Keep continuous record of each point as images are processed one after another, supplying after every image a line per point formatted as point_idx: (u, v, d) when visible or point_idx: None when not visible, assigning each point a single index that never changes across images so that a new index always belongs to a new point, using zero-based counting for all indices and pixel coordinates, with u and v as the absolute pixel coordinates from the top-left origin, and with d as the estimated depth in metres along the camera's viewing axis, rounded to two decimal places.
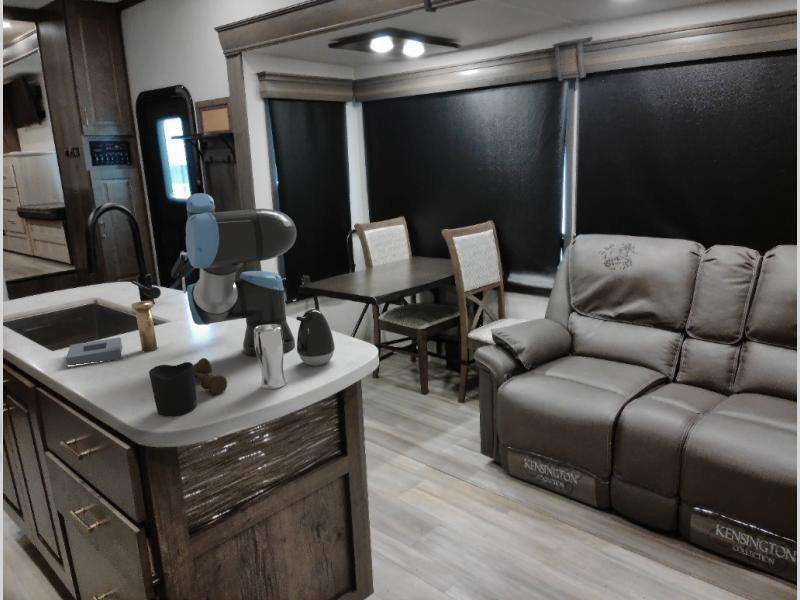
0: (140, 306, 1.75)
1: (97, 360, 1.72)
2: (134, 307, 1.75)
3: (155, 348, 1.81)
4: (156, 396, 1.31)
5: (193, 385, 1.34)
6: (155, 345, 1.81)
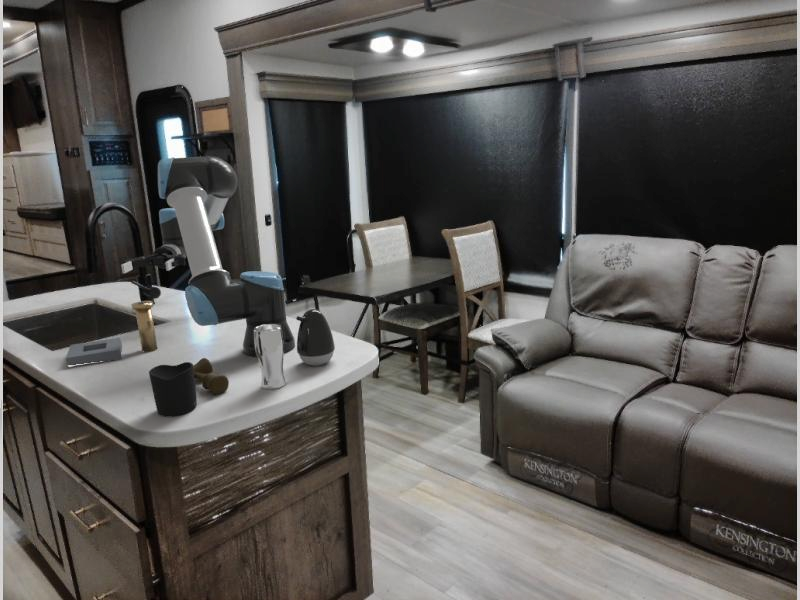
0: (140, 306, 1.75)
1: (97, 360, 1.72)
2: (134, 307, 1.75)
3: (155, 348, 1.81)
4: (156, 396, 1.31)
5: (193, 385, 1.34)
6: (155, 345, 1.81)
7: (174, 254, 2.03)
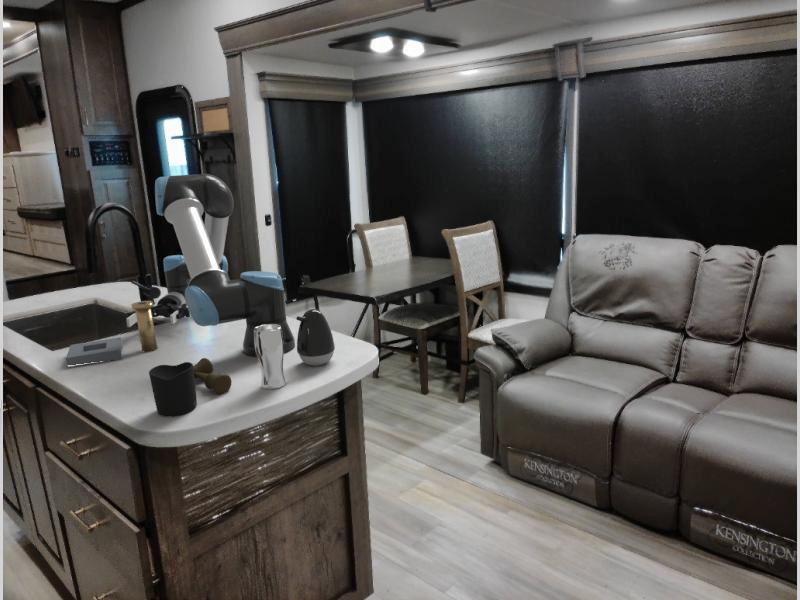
0: (140, 306, 1.75)
1: (97, 360, 1.72)
2: (134, 307, 1.75)
3: (155, 348, 1.81)
4: (156, 396, 1.31)
5: (193, 385, 1.34)
6: (155, 345, 1.81)
7: (178, 303, 2.04)
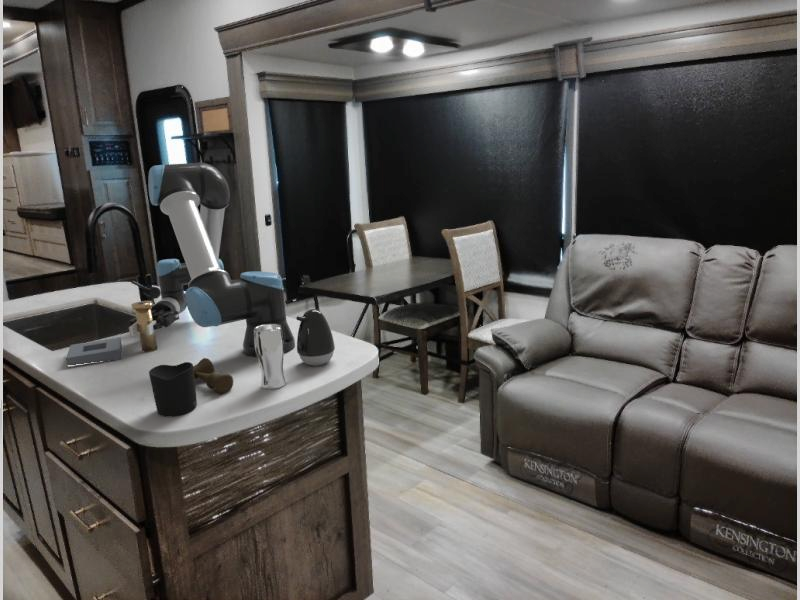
0: (140, 306, 1.75)
1: (97, 360, 1.72)
2: (134, 307, 1.75)
3: (155, 348, 1.81)
4: (156, 396, 1.31)
5: (193, 385, 1.34)
6: (155, 345, 1.81)
7: (173, 310, 1.94)
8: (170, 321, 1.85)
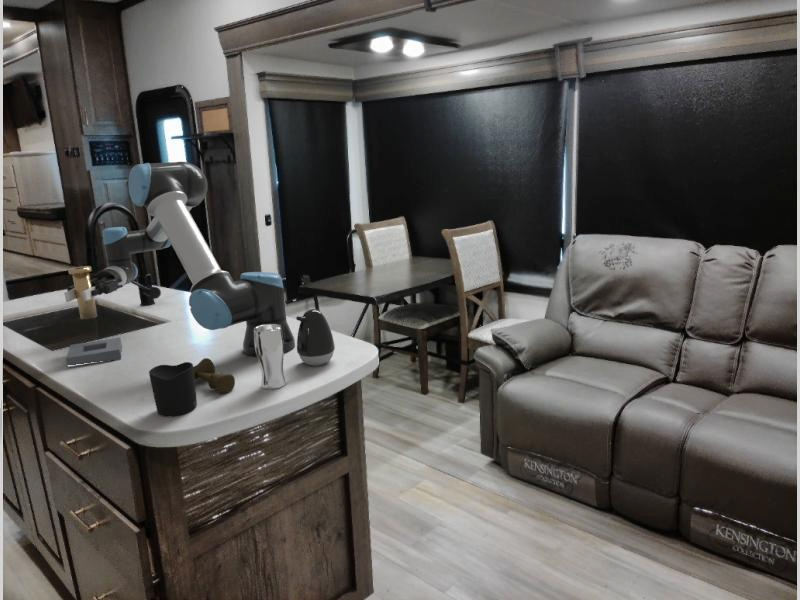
0: (77, 270, 1.68)
1: (97, 360, 1.72)
2: (70, 272, 1.69)
3: (94, 315, 1.74)
4: (156, 396, 1.31)
5: (193, 385, 1.34)
6: (94, 312, 1.74)
7: (117, 278, 1.88)
8: (111, 288, 1.78)
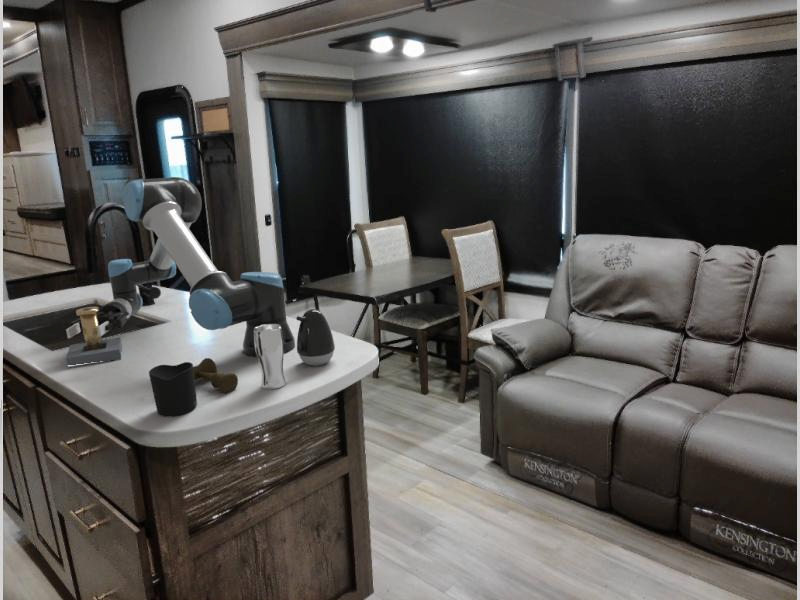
0: (84, 312, 1.71)
1: (97, 360, 1.72)
2: (78, 313, 1.72)
3: None
4: (156, 396, 1.31)
5: (193, 385, 1.34)
6: None
7: (122, 311, 1.90)
8: (123, 322, 1.81)
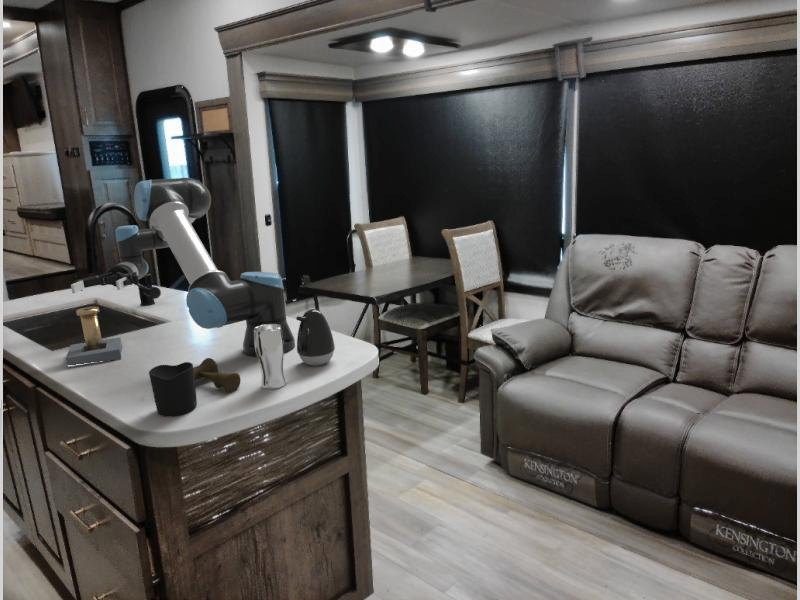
0: (84, 312, 1.71)
1: (97, 360, 1.72)
2: (78, 313, 1.72)
3: None
4: (156, 396, 1.31)
5: (193, 385, 1.34)
6: None
7: (129, 272, 1.99)
8: None
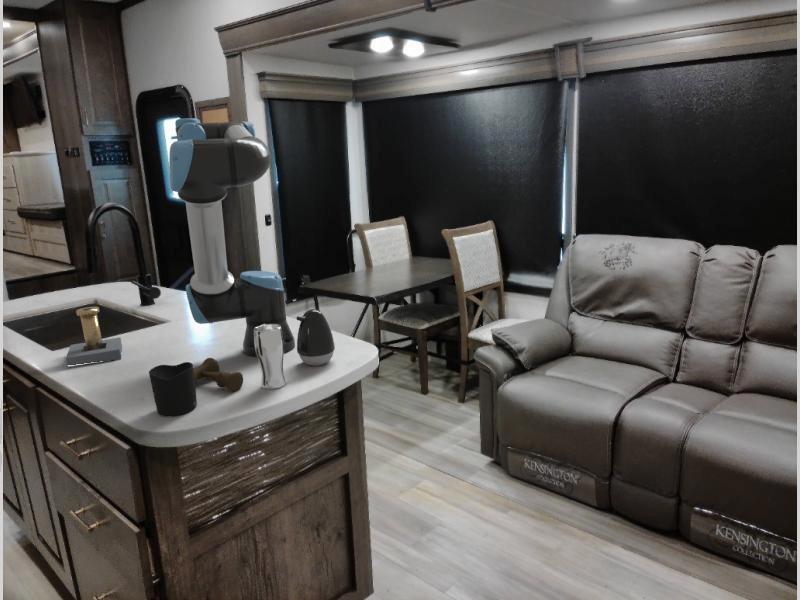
0: (84, 312, 1.71)
1: (97, 360, 1.72)
2: (78, 313, 1.72)
3: None
4: (156, 396, 1.31)
5: (193, 385, 1.34)
6: None
7: None
8: None
